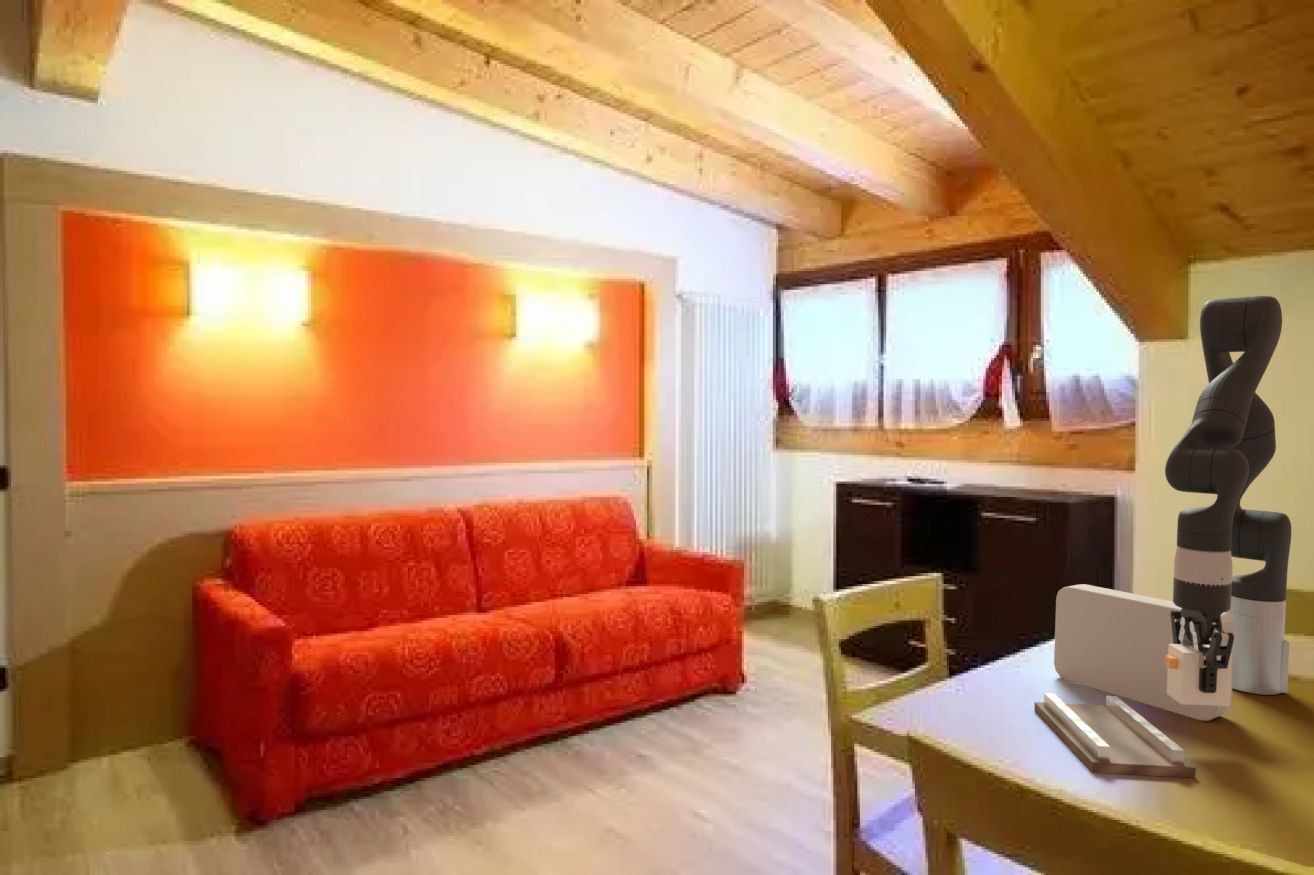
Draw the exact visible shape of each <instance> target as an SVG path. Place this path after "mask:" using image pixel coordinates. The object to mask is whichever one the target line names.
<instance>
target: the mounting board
mask: <svg viewBox="0 0 1314 875" xmlns="http://www.w3.org/2000/svg"><path fill="white" fill-rule="evenodd" d="M1064 703H1065V702H1064ZM1065 704H1066V705H1067V706H1068V707H1069V708H1070V709H1071V710H1072V711H1073V712H1074V713H1075V714H1076V715H1077V716H1078V717H1079V718H1080V719H1081V720H1083V721H1084V722H1085V723H1086V724H1087V725H1088V726H1089V727H1090V728H1091V729H1092V730H1093V731H1094V732H1095V733H1096V734H1097V735H1098V736H1099V737H1100V738H1102V739H1103V740H1104V741H1105V742H1106V743H1107V744H1108V745H1109V746H1110V760H1098V759H1097V758H1096V757H1095V756H1094V755H1093V754H1092V753H1091V752H1090V751H1089V750H1088V749H1087V748H1086V747H1085V746H1084V745H1083V744H1082V743H1081V742H1080V741H1079V740H1078V739H1077V738H1076V737H1075V736H1074V735H1073V734H1072V733H1071V732H1070V731H1069V730H1068V729H1067V728H1066V727H1065V726H1064V725H1063V724H1062V723H1061V722H1060V721H1059V720H1058V718H1057V717H1056V716H1055V715H1054V714H1053V713H1052V712H1051V711H1050V710H1049V709H1048V708H1047V707H1046V706H1045V705H1044V701H1043V702H1040V701H1034V707H1033V708H1034V710H1035V711H1034V712H1035V713H1036V714H1037V713H1038V714H1037V715H1038V717H1039V718H1041V719H1042V720H1043V722H1044V723H1045V722H1046V723H1047V724H1046V723H1045V724H1046V725H1047V726H1048V727H1049V726H1050V727H1049V728H1050V730H1052V731H1053V732H1054V733H1055V735H1057V737H1058V738H1060V740H1061V741H1062V742H1063V743H1064V744H1065V746H1067V748H1068V749H1070V751H1072V753H1074V755H1075V756H1076V757H1077V758H1078V759H1079V760H1080V761H1081V762H1082V763H1083V765H1084V766H1085V767H1086V768H1087V769H1088V770H1089V771H1090V772H1091V773H1096V774H1097V773H1098V774H1117V775H1134V776H1136V775H1137V776H1151V777H1152V776H1153V777H1170V778H1187V777H1189V778H1190V779H1196V778H1197V777H1196V776H1197V773H1196V772H1197V771H1196V770H1197V768H1196V766H1194V764H1192V763H1191V762H1190V761H1189V760H1188V759H1187V758H1185V757H1184V764H1172V763H1171V762H1169V761H1168V760H1167V759H1166V758H1165V757H1164V756H1162V755H1161V754H1160V753H1159V752H1158V751H1157V750H1155V749H1154V748H1153V747H1152V746H1151V745H1150V744H1148V743H1147V742H1146V741H1145V740H1144V739H1142V738H1141V737H1140V736H1139V735H1138V734H1137V733H1135V732H1134V731H1133V730H1132V729H1131V728H1130V727H1128V726H1127V725H1126V724H1125V723H1124V722H1122V721H1121V720H1120V719H1119V718H1118V717H1117V716H1115V715H1114V714H1113V713H1112V712H1111V711H1110V710H1108V709H1107V708H1106V704H1105V705H1103V704H1086V703H1085V704H1084V703H1083V704H1082V703H1081V704H1080V703H1065Z"/></svg>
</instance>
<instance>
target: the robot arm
mask: <svg viewBox="0 0 1314 875" xmlns="http://www.w3.org/2000/svg"><path fill="white" fill-rule="evenodd" d="M1282 314H1283V311H1282V308H1281V304H1280V302H1279V300H1278V299H1277V298H1276V297H1274V296H1271V295H1253V296H1238V297H1225V298H1224V297H1223V298H1222V297H1221V298H1214V299H1209V300H1207V301H1206V302H1205V303H1204V305H1203V306H1202V308H1201V311H1200V317H1199V330H1200V332H1199V333H1200V337H1201V338H1200V339H1201V346H1202V351H1203V357H1204V362H1205V363H1204V364H1205V367H1206V369H1205V370H1206V375H1207V379H1208V384H1207V385H1206V386H1205V388H1204V389H1203V390H1202V391H1201V393H1200V395H1199V397H1198V400H1197V403H1196V405H1195V406H1196V407H1195V410H1194V414H1193V416H1192V420H1191V424H1190V426H1188V429H1187V430H1186V432H1185V433H1184V435H1183V436H1182V437H1181V439H1180V440H1179V441H1178V442H1177V444H1176V445H1175V446H1174V447H1173V449H1172V451H1171V452H1170V454H1169V456H1168V458H1167V459H1166V462H1165V468H1164V474H1165V479H1166V481H1167V483H1168V484H1169V486H1170V487H1171V488H1173V489H1174V490H1176V491H1179V492H1184V493H1195V494H1209V495H1217V497H1216V500H1215V501H1214V503H1212V504H1211V505H1209V506H1202V507H1200V506H1199V507H1191V508H1190V507H1189V508H1185V509H1183V510H1181V511H1180V512H1179V514H1178V515H1177V516H1178V517H1177V527H1176V528H1177V530H1176V550H1175V555H1174V558H1173V559H1174V562H1173V563H1174V564H1173V583H1172V584H1173V585H1172V586H1173V587H1172V589H1173V590H1172V601H1173V603H1174V604H1175V605H1176V606H1178V607H1180V608H1182V609H1181V611H1171V613H1170V615H1171V624H1172V634H1173V644H1183V645H1194V650H1195V651H1196V652H1197V653H1199V664H1200V669H1199V690H1200V691H1201V692H1203V693H1215V692H1216V687H1217V670H1218V669H1227V667H1228V663H1229V659H1230V654H1231V650H1232V646H1233V641H1234V661H1233V683H1232V690H1236V691H1241V692H1245V693H1249V694H1255V695H1264V696H1266V695H1267V696H1273V695H1280V694H1287V693H1288V684H1289V682H1288V681H1289V665H1290V664H1289V660H1290V659H1289V658H1290V641H1288V640H1286V639H1285V630H1286V628H1285V627H1286V607H1287V606H1286V604H1287V584H1288V568H1289V558H1290V552H1291V544H1292V542H1291V541H1292V523H1291V519H1290V517H1289V516H1288V515H1287V514H1286V513H1284V512H1278V511H1268V510H1258V509H1257V510H1255V509H1245V508H1242V507H1241V500H1242V498H1243V496H1244V495H1245V493H1246V491H1247V490H1248V488H1249V487H1250V485H1251V484H1252V483H1253V482H1254V480H1256V478H1258V476H1260V474H1261V473H1262V472H1263V471H1264V470H1265V469H1266V467H1268V465H1269V464H1270V462H1271V461H1272V459H1273V458H1274V456H1275V453H1276V449H1277V442H1276V428H1275V427H1276V426H1275V417H1274V415H1273V413H1272V410H1271V409H1270V407H1269V406H1268V405H1267V404H1266V403H1265V401H1263V399H1262V398H1261V397H1260V396H1259V394H1258V393H1256V391H1257V388H1258V387H1259V385H1260V383H1261V381H1262V378H1263V376H1264V375H1265V373H1266V370H1267V368H1268V366H1269V365H1270V361H1271V359H1272V358H1273V355H1274V353H1275V351H1276V348H1277V347H1278V344H1279V341H1280V337H1281V334H1282V330H1283V329H1282V328H1283V315H1282ZM1231 353H1242V354H1241V355H1240V357H1238V358H1237V359H1236V361H1234V362H1233V359H1232V356H1231ZM1232 558H1238V559H1245V560H1253V561H1254V560H1255V561H1262V562H1265V564H1264V567H1263V568H1261V569H1259V570H1258V571H1254V572H1252V573H1246V574H1239V575H1234V576H1233V559H1232ZM1222 613H1225V614H1227V615H1228V616H1229V617H1230V618H1231V620H1232V621H1233V624H1234V628H1235V639H1234V635H1233V633H1225V632H1224V631H1223V630H1222V622H1221V614H1222ZM1202 645H1210V647H1203V646H1202ZM1206 652H1208V656H1207V660H1206ZM1220 656H1221V660H1220Z"/></svg>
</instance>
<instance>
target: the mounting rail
mask: <svg viewBox="0 0 1314 875" xmlns="http://www.w3.org/2000/svg"><path fill="white" fill-rule="evenodd" d="M1105 698H1106V699H1105V705H1106V708H1107V709H1108V710H1110V711H1111V712H1112V713H1113V714H1114V715H1115V716H1117V717H1118V718H1119V719H1120V720H1121V721H1122V722H1124V723H1125V724H1126V725H1127V726H1128V727H1130V728H1131V729H1132V730H1133V731H1134V732H1135V733H1137V734H1138V735H1139V736H1140V737H1141V738H1142V739H1144V740H1145V741H1146V742H1147V743H1148V744H1150V745H1151V746H1152V747H1153V748H1154V749H1155V750H1157V751H1158V752H1159V753H1160V754H1161V755H1162V756H1164V757H1165V758H1166V759H1167V760H1168V761H1169V762H1171V763H1172V764H1184V758H1185V750H1184V749H1183V748H1182V747H1180V745H1178V744H1177V743H1176V742H1174V741H1173V740H1172V739H1171V738H1169V737H1168V735H1166V734H1165V733H1163V732H1162V731H1161V730H1160V729H1158V728H1157V727H1156V726H1154V725H1153V724H1152V723H1151V722H1149V721H1148V720H1147V719H1146V718H1144V717H1143V716H1142V715H1141V714H1139V713H1138V712H1137V711H1135V709H1133V708H1131V707H1130V706H1129V705H1128V704H1127V703H1126V702H1124V701H1123V700H1122V699H1121V698H1120V697H1119V696H1117V695H1106V696H1105ZM1043 702H1044V705H1045V706H1046V707H1047V708H1048V709H1049V710H1050V711H1051V712H1052V713H1053V714H1054V715H1055V716H1056V717H1057V718H1058V720H1059V721H1060V722H1061V723H1062V724H1063V725H1064V726H1065V727H1066V728H1067V729H1068V730H1069V731H1070V732H1071V733H1072V734H1073V735H1074V736H1075V737H1076V738H1077V739H1078V740H1079V741H1080V742H1081V743H1082V744H1083V745H1084V746H1085V747H1086V748H1087V749H1088V750H1089V751H1090V752H1091V753H1092V754H1093V755H1094V756H1095V757H1096V758H1097V759H1098V760H1110V746H1109V745H1108V744H1107V743H1106V742H1105V741H1104V740H1103V739H1102V738H1100V737H1099V736H1098V735H1097V734H1096V733H1095V732H1094V731H1093V730H1092V729H1091V728H1090V727H1089V726H1088V725H1087V724H1086V723H1085V722H1084V721H1083V720H1081V719H1080V718H1079V717H1078V716H1077V715H1076V714H1075V713H1074V712H1073V711H1072V710H1071V709H1070V708H1069V707H1068V706H1067V705H1066V704H1067V703H1066V704H1065V702H1064V701H1062V699H1061V698H1060V697H1058V696H1057V695H1056V694H1055V692H1053V693H1052V692H1044V693H1043Z"/></svg>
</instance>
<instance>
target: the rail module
mask: <svg viewBox="0 0 1314 875" xmlns="http://www.w3.org/2000/svg"><path fill="white" fill-rule="evenodd" d="M1202 646H1203V647H1210V645H1202ZM1207 656H1208V652H1206V660H1207ZM1220 660H1221V656H1220ZM1165 666H1167V667H1168V671H1167V694H1168V695H1169V696H1171V697H1172V698H1173V699H1175V700H1176V701H1178V702H1179V703H1180V704H1188V705H1216V706H1230V699H1231V674H1232V654H1230V659H1229V663H1228V667H1227V669H1218V670H1217V687H1216V692H1215V693H1203V692H1201V691H1200V690H1199V669H1200V664H1199V653H1197V652H1196V651H1195V650H1194V645H1183V644H1168V655H1165Z"/></svg>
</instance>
